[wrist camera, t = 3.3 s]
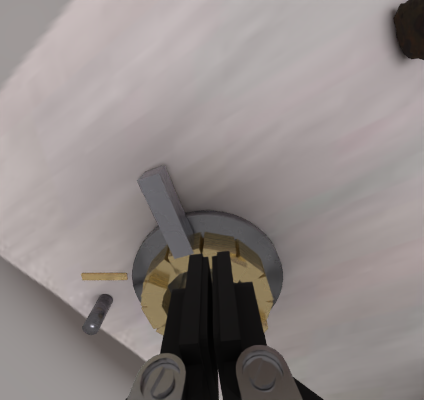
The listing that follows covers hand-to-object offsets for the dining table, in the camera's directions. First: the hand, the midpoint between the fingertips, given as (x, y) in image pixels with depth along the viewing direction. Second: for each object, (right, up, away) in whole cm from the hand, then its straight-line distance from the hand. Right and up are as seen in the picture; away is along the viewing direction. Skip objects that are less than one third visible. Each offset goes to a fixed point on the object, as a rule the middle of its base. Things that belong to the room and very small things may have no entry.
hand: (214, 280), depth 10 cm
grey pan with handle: (-2, -2, +15) cm, 15 cm away
